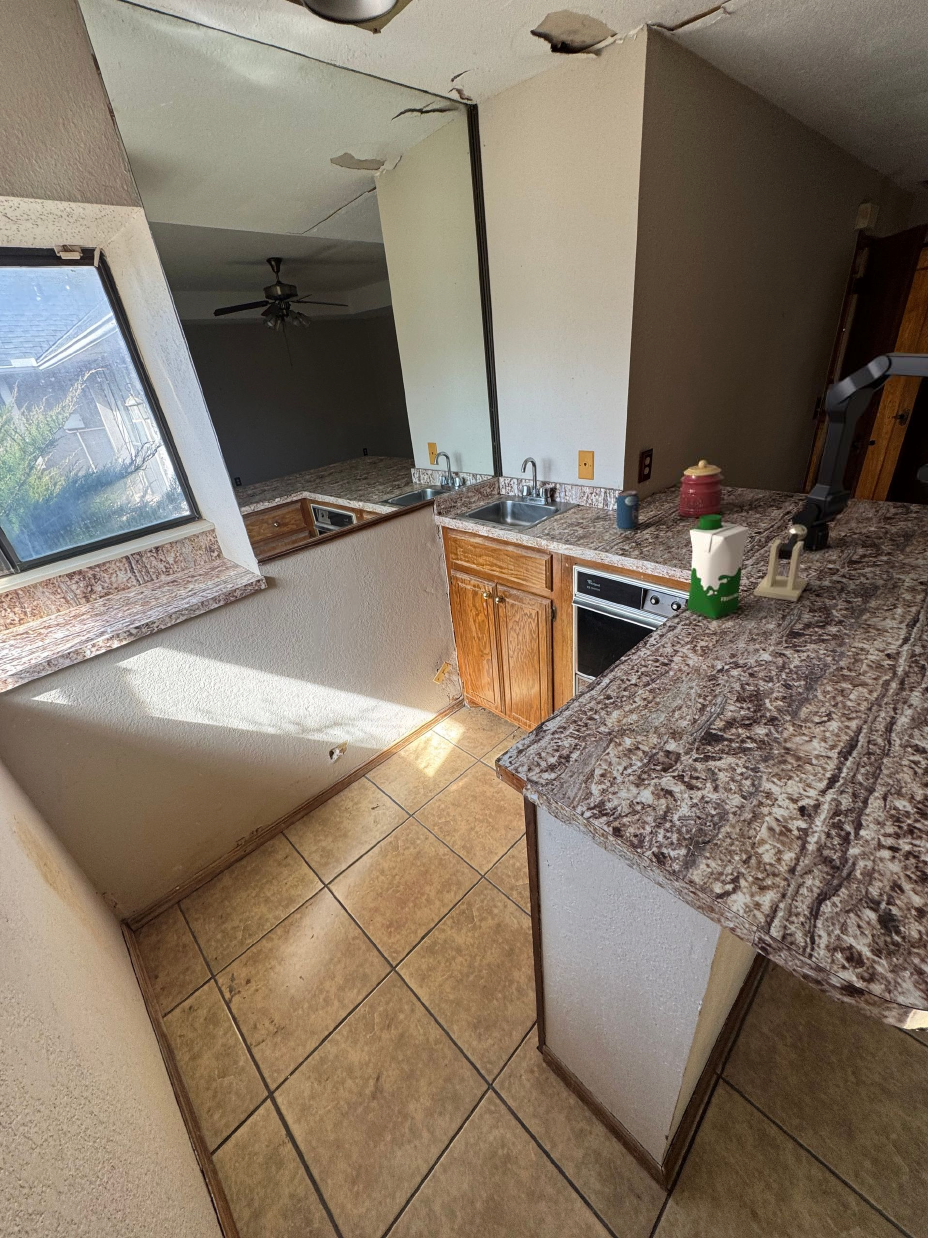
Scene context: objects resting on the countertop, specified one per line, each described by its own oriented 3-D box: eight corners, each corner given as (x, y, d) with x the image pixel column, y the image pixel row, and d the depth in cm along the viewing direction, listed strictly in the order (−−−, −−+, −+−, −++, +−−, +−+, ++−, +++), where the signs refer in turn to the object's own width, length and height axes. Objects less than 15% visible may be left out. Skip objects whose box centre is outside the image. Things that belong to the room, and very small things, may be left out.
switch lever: (789, 535, 111) (790, 520, 109) (807, 536, 108) (809, 522, 106) (774, 561, 104) (775, 546, 102) (793, 563, 102) (795, 548, 100)
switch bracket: (766, 579, 112) (772, 534, 108) (806, 584, 107) (815, 538, 102) (753, 595, 106) (759, 549, 101) (796, 601, 101) (804, 553, 96)
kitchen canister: (727, 514, 159) (733, 460, 152) (687, 520, 160) (691, 466, 152) (710, 505, 171) (714, 454, 163) (673, 510, 172) (675, 460, 164)
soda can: (638, 530, 158) (638, 494, 153) (616, 531, 160) (616, 495, 155) (638, 524, 163) (639, 489, 158) (617, 525, 166) (617, 490, 161)
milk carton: (708, 597, 108) (715, 510, 100) (745, 609, 101) (757, 516, 92) (680, 609, 105) (685, 520, 97) (717, 622, 98) (726, 528, 89)
